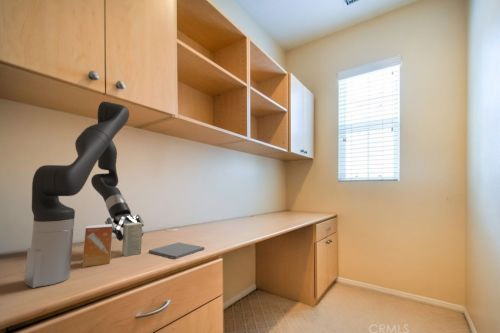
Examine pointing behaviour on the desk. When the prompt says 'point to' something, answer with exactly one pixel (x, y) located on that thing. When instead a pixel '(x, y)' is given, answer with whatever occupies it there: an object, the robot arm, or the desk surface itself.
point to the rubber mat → (176, 250)
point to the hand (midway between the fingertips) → (132, 237)
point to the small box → (97, 245)
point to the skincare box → (132, 239)
